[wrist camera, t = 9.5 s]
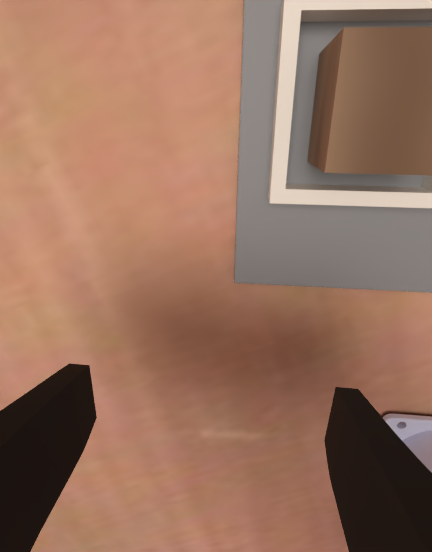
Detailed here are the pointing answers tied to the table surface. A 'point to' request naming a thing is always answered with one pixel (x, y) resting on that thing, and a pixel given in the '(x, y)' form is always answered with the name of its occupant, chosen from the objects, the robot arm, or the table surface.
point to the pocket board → (309, 179)
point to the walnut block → (374, 102)
